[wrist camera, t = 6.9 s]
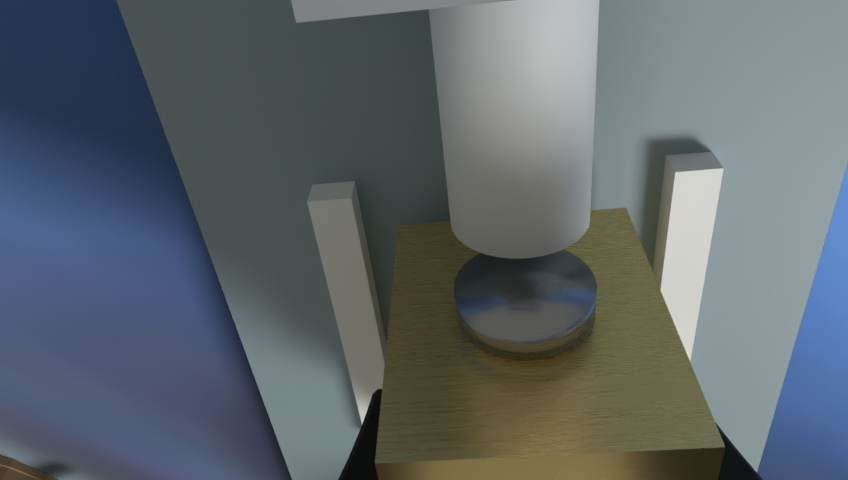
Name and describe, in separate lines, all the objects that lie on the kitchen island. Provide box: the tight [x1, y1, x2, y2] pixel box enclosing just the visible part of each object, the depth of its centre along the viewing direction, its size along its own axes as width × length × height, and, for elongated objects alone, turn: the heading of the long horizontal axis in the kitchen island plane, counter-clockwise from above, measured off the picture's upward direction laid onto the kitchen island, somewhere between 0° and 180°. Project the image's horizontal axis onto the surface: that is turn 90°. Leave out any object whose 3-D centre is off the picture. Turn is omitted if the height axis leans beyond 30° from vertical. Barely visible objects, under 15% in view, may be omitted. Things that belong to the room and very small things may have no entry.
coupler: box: [375, 208, 725, 480], centre depth 11 cm, size 4×7×5 cm, turn 6°
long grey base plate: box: [116, 0, 848, 480], centre depth 13 cm, size 12×24×6 cm, turn 6°
